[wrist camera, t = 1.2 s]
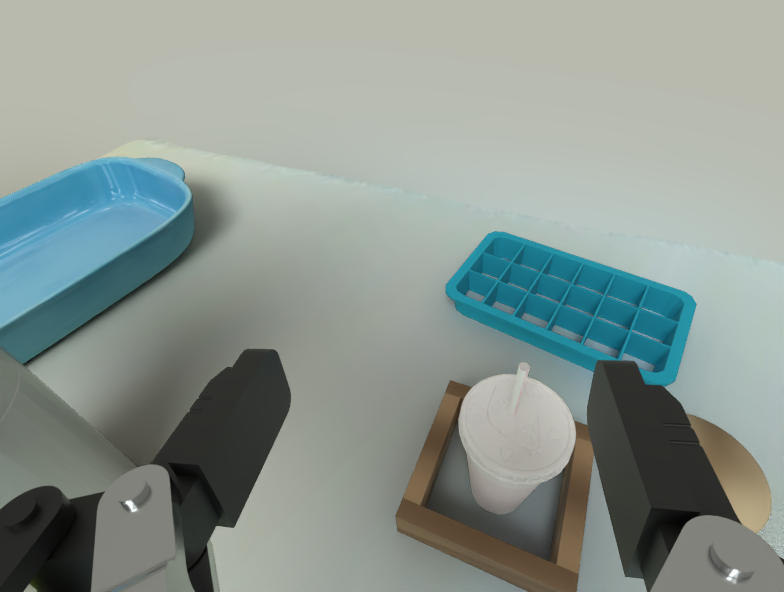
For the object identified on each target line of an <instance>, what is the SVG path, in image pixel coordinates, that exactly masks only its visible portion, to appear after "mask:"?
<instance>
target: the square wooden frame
mask: <svg viewBox="0 0 784 592" xmlns="http://www.w3.org/2000/svg"><path fill="white" fill-rule="evenodd" d="M471 388H472V387H469V386H466V385H463V384H460V383H457V382H454V381H451V380H450V382H449V385H448V387H447V390H446V392H445V395H444V397H443V400H442V402H441V405H440V407H439V410H438V412H437V415H436V417H435V420H434V422H433V424H432V427H431V429H430V432H429V434H428V437H427V439H426V442H425V444H424V447H423V449H422V452H421V454H420V457H419V459H418V462H417V464H416V467H415V469H414V472H413V474H412V476H411V479H410V481H409V484H408V486H407V489H406V491H405V494H404V496H403V499H402V501H401V504H400V506H399V509H398V511H397V514H396V523H397V530H398V531H399V532H401V533H403V534H405V535H407V536H410V537H412V538H414V539H416V540H418V541H420V542H423V543H425V544H427V545H429V546H431V547H433V548H436V549H438V550H440V551H442V552H444V553H446V554H448V555H451V556H453V557H455V558H457V559H459V560H461V561H464V562H466V563H468V564H470V565H472V566H474V567H477V568H479V569H481V570H483V571H485V572H487V573H490V574H492V575H494V576H496V577H498V578H500V579H502V580H505V581H507V582H509V583H511V584H513V585H515V586H518V587H520V588H522V589H524V590H526V591H528V592H576V590H577V582H578V575H579V567H580V559H581V551H582V543H583V535H584V527H585V519H586V511H587V503H588V495H589V487H590V479H591V471H592V463H593V455H594V451H593V447H592V443H591V439H590V435H589V430H588V425H585V424H582V423H579V422H576V421H574V423H575V428H576V440H575V445H574V448H573V451H572V454H571V457H570V459H569V462H568V464H567V465H566V466H565V469H564V475H563V481H562V487H561V493H560V499H559V505H558V511H557V517H556V523H555V528H554V534H553V540H552V546H551V552H550V558H549V561H547V560H545V559H543V558H540V557H538V556H536V555H534V554H531V553H529V552H527V551H524V550H522V549H520V548H517V547H515V546H513V545H511V544H508V543H506V542H504V541H501V540H499V539H497V538H494V537H492V536H490V535H488V534H485V533H483V532H481V531H478V530H476V529H474V528H471V527H469V526H467V525H465V524H462V523H460V522H458V521H455V520H453V519H451V518H448V517H446V516H444V515H442V514H439V513H437V512H435V511H432V510H430V509H428V508H426V505H427V502H428V499H429V497H430V494H431V491H432V488H433V486H434V483H435V480H436V477H437V475H438V472H439V469H440V466H441V464H442V461H443V458H444V455H445V453H446V450H447V447H448V444H449V442H450V439H451V436H452V433H453V431H454V428H455V425H456V422H457V420H458V418H459V415H460V411H461V406H462V403H463V400H464V398H465V396H466V395H467V393H468V392H469V391H470V389H471Z"/></svg>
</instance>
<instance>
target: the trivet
mask: <svg viewBox="0 0 784 592" xmlns="http://www.w3.org/2000/svg"><path fill="white" fill-rule="evenodd" d="M686 415H687V417H688V419H689V421H690V423H691V428H693V429H694V431H695V433H696V435H697V437H698V439H699V441H700V446H702V447H703V449H704V451H705V453H706V455H707V457H708V459H709V461H710V463H711V465H712V467H713V469H714V471H715V473H716V475H717V477H718V479H719V481H720V483H721V485H722V487H723V489H724V491H725V493H726V495H727V497H728V499H729V501H730V503H731V505H732V507H733V509H734V511H735V513H736V515H737V517H738V518H739V520H740V522H741V523H742V524H743V526H745V527H747V528H749V529H750V530H752V531H753V532H755V533H758V532H759V531H760V530H761V529H762V528H763V527H764V526H765V524H766V523H767V521H768V519H769V516H770V512H771V493H770V489H769V485H768V482H767V480H766V478H765V475H764V473H763V471H762V470H761V468H760V466H759V465H758V463H757V462H756V461H755V459H754V458H753V456H752V455H751V454H750V453H749V452H748V451H747V450H746V448H744V447H743V446H742V445H741V444H740V443H739V442H738V441H737V440H736V439H735V438H733V437H732V436H731V435H730V434H728V433H727V432H725V431H724V430H722V429H721V428H719V427H717V426H716V425H714V424H712V423H710V422H708V421H706V420H704V419H701V418H698V417H696V416H692V415H689V414H686Z"/></svg>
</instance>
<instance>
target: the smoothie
mask: <svg viewBox="0 0 784 592" xmlns="http://www.w3.org/2000/svg"><path fill="white" fill-rule="evenodd" d="M529 370H530V366H529V365H528V364H527V363H520V364H519V366H518V370H517V374H499V375H494V376H491V377H488V378H486V379H484V380H482V381H480V382H478V383H477V384H476V385H474V386H473V387H472V388H471V389H470V391H469V392H468V393H467V395H466V396H465V398H464V400H463V403H462V406H461V411H460V415H459V419H458V424H459V435H460V438H461V441H462V444H463V447H464V448H465V450H466V452H467V460H468V469H469V477H470V485H471V491H472V494H473V497H474V499H475V500H476V502H477V503H478V504H479V505H480V506H481V507H482V508H483V509H485V510H486V511H488V512H491V513H494V514H507V513H510V512H512V511H514V510H515V509H516V508H517V507H518V506H519V505H520V504H521V503H522V502H523V501H524V500H525V499H526V498H527V497H528V496H529V495H530V494H531V493H532V492H533V491H534V490H535V489H536V488H537V486H538V485H539V484H540V483H541V482H546V481H548V480H549V479H551V478H553V477H554V476H556V475H558V474H559V473H560V472H561V471H562V470H563V468H564V467H565V466H566V465H567V464H568V462H569V459H570V457H571V454H572V451H573V448H574V445H575V440H576V428H575V423H574V419H573V417H572V414H571V412H570V410H569V408H568V407H567V405H566V404H565V402H564V401H563V400H562V398H561V397H560V396H559V395H558V394H557V393H556V392H555V391H553V390H552V389H551V388H549V387H548V386H547V385H545V384H543V383H541V382H540V381H537V380H535V379H533V378H530V377H528V374H529Z"/></svg>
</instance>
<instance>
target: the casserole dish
mask: <svg viewBox="0 0 784 592" xmlns="http://www.w3.org/2000/svg"><path fill="white" fill-rule="evenodd" d="M184 179H185V173H184V170H183V169H182V168H181V167H180V166H178V165H177V164H175V163H173V162H170V161H167V160H164V159H159V158H137V159H134V158H127V157H107V158H101V159H97V160H92V161H89V162H86V163H82V164H80V165H77V166H74V167H71V168H69V169H66V170H64V171H61V172H59V173H57V174H54V175H52V176H50V177H48V178H45V179H43V180H41V181H39V182H36V183H34V184H32V185H30V186H28V187H25V188H23V189H21V190H19V191H16V192H14V193H12V194H10V195H7V196H5V197H3V198H1V199H0V345H1V346H2V347H3V348H4V349H6V350H7V351H8V352H9V353H10V354H12V355H13V356H14V357H15V358H16V359H17V360H19V361H20V362H21V363H22V364H23V363H25V362H27V361H28V360H30V359H31V358H33V357H34V356H36V355H37V354H39V353H40V352H42V351H43V350H45V349H46V348H48V347H50V346H51V345H53V344H54V343H56V342H57V341H59V340H60V339H62V338H63V337H65V336H66V335H68V334H69V333H71V332H72V331H74V330H75V329H77V328H78V327H80V326H81V325H83V324H84V323H86V322H87V321H89V320H90V319H92V318H93V317H94V316H95V315H97V314H99V313H101V312H102V311H104V310H105V309H107V308H108V307H109V306H111V305H112V304H114V303H115V302H117V301H118V300H120V299H121V298H123V297H124V296H126V295H127V294H129V293H130V292H132V291H133V290H134V289H136V288H137V287H139V286H140V285H142V284H143V283H145V282H146V281H147V280H149V279H150V278H152V277H153V276H155V275H156V274H158V273H159V272H160V271H162V270H163V269H164V268H166V267H167V266H168V265H170V264H171V263H172V262H173V261H174V260H175V259H176V258H177V257H178V256H179V255H180V254H181V253H182V252H183V251H184V250H185V249H186V248H187V246H188V245H189V243H190V241H191V239H192V236H193V232H194V211H193V196H192V192H191V190H190V188H189V187H188V186H187V185H186V183H185V182H184Z"/></svg>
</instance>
